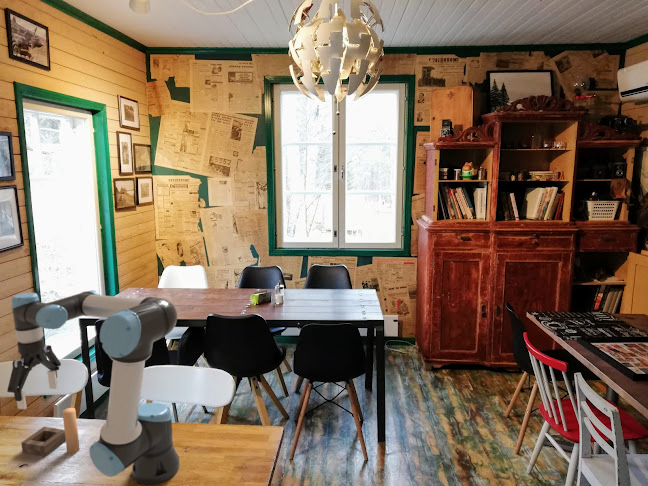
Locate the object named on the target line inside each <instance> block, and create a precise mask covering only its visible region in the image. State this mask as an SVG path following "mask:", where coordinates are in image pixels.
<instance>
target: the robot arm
mask: <svg viewBox="0 0 648 486" xmlns="http://www.w3.org/2000/svg"><path fill="white" fill-rule="evenodd" d="M11 310H12V311H11V312H12V316H13V317H12V318H13V323H14V329H15V335H16V336H15V337H16V341H17V343H16V344H17V351H18V354H19V355H20V359H17V360H12V370H11V373H10V377H9V383H8V386H7V390H6V391H7V393H13V395H14V401H16V405H17V409H18V410H27V398H26V394H25V393H26V392H25V389H23V388H24V386H25V383H26V380H27V378H28V376H29V373H30V372H31V371H32V370H33V368H34V367H36V366H38V365H42V366H44V367H45V368H46V369H48V370H47V372H46V373H47V378H48V387H49V389H54V390H57V389H58V388H59V386H58V380H57V379H58V372H57V371H59V370H60V367H61V366H62V365H61V364H62V363H61V362H60V360H59V358H58V357H57V356H56V354H55V352H54V351H53V348H52V345H48V344H45V338H44V330H43V329H46V330H57V329H60V328H62V327H63V326H64V325H65V324H66V322H68V321H71V320H74V319H76V318H79V317H83V316H85V317H91V318H92V317H93V318H100V319H105V320H104V321H103V322H102V324H101V326H100V330H99V331H100V332H99V342H100V343H102V346H101V347H102V349H103V351H104V352H105V354H107V355H108V357H109V358H110V359H111V361H112V367H111V378H110V388H109V395H108V396H109V398H108V407H107V417H106V420H107V422H106V421H105V422H104V423H103V424H102V426H101V428H100V430H99V431H100V433H99V439H98V440H97V441H94V442H93V443H92V444H91V446H90V447H89V456H90V457H89V458H90V460H91V461H92V464H93V466H94V467H96V469H97V470H98V471H99V473H101V474H102V475H104V476H106V477H116V476H118V474H121V473H122V472H124V471H125V470H126V469H127V468H129V467H130V466H131V465H132V470H131V471H132V472H131V473H132V478H133V480H134V481H135V482H136V483H138V484H141V485H146V486H147V485H150V486H151V485H156V484H160V483H163V482H165V481H168V480H169V479H171V478H172V477H174V476H175V475H176V473H177V472H178V470H179V469H180V465H181V464H180V457H179V454H178V453H177V451H176V449H175V447H174V441H173V439H174V438H173V426H172V425H173V424H172V423H173V422H172V419H173V417H172V413H171V409H170V406H168V405H167V404H165V403H161V402H148V403H142V404H141V397H142V388H143V382H144V381H143V380H144V371H145V365H146V364H145V363H146V361H147V360H148V359H149V358H150V357H151V356H152V352H153V344H154V342H156V341H158V340H160V339H162V338H165V337H166V336H168V335H169V334H170V333H171V332H172V331H173V330H174V328H175V327H176V324H177V321H178V311H177V309H176V306H175V305H174V304H173V303H172V302H171V301H169V300H168V299H165V298H163V297H157V296H147V297H144V298H142V299H141V298H132V297H122V296H113V295H112V296H111V295H103V294H100V293H99V292H98V291H96V290H92V289H91V290H88V291H82V292H80V293H76V294H73V295H70V296H67V297H64V298H60V299H56V300H53V301H49V302H42V301H40V298H39V295H38V294H37V293H36V292H24V293H20V294H16V295H14V296H13V297H12V298H11ZM44 355H45V356H44ZM140 404H141V405H140Z"/></svg>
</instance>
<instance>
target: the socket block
mask: <svg viewBox="0 0 648 486" xmlns="http://www.w3.org/2000/svg"><path fill="white" fill-rule="evenodd" d="M20 443H21V448H22V449H21V451H22V453H23V454H29V455H35V456H41V457H45V458H46V457H47V456H49V455H50V454H51V453H52V452H54V451H55V450H56V449H58V448H59V447H60V446H61V445H63V444H64V443H66V438H65V430H64V429H61V428H54V427H50V426H49V427H48V426H42V427H41V428H40V429H38V430H37V431H36V432H35V433H33V434H31V435H30V436H29V437H27V438H26V439H24V440H23V441H21V442H20Z"/></svg>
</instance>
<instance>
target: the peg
mask: <svg viewBox="0 0 648 486" xmlns="http://www.w3.org/2000/svg"><path fill="white" fill-rule="evenodd" d="M76 413H77V412H76V408H75V407H67V408H65V409H63V410H62V419H63V421H62V422H63V428H64V429H63V430H65V438H66V441H65V447H66V453H67V454H68V455H74V454H77V453H78V452H80V439H79V432H78V424H77V422H78V421H77V420H78V419H77V414H76Z"/></svg>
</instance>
